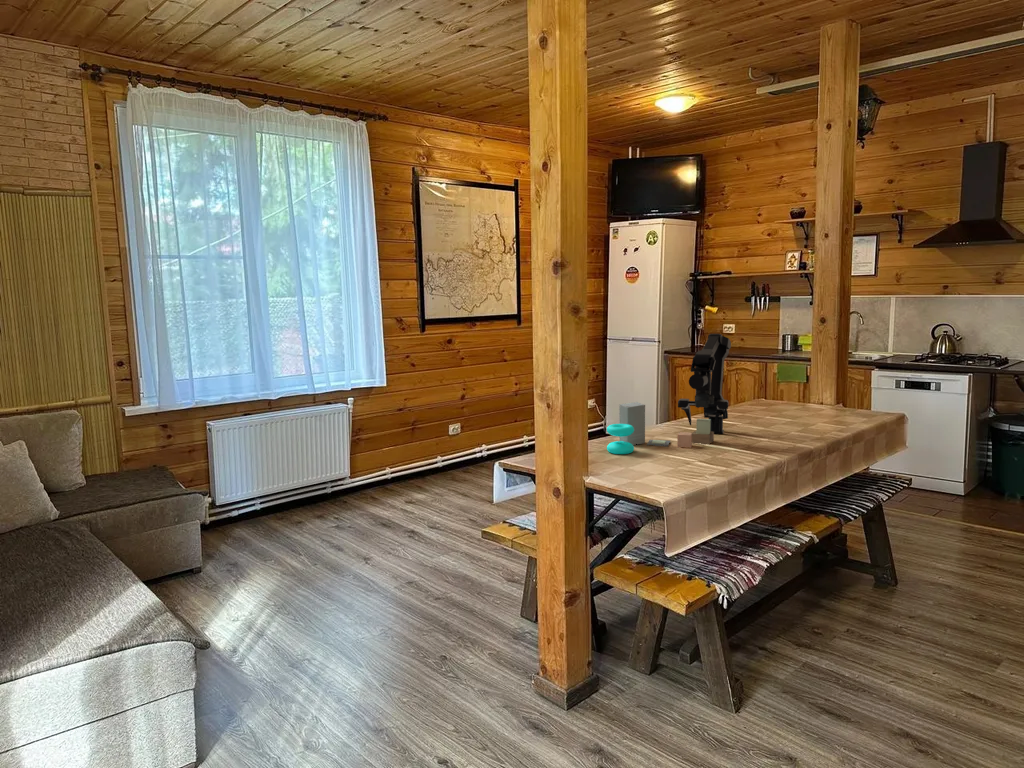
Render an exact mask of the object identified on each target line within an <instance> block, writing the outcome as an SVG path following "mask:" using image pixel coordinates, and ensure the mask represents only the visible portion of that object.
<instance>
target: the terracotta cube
mask: <svg viewBox="0 0 1024 768" xmlns="http://www.w3.org/2000/svg"><path fill="white" fill-rule="evenodd" d="M692 433H693V432H690V431H688V432H687V431H686V432H684V431H682V432H681V431H678V433H677V436H676V437H677V440H676V441H677V448H679V447H690V448H689V449H692V446H693V443H692Z"/></svg>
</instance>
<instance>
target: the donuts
mask: <svg viewBox="0 0 1024 768" xmlns="http://www.w3.org/2000/svg"><path fill="white" fill-rule="evenodd" d="M606 432H607V433H608V434H609V435H611V436H613V437H619V438H620V437H623V436H629V435H631V434H632V433H633V432H634V427H633V426H631V425H629V424H620V423H612V424H609V425H608V426H607V427H606ZM634 450H635V445H632V444H631V443H629V442H625V441H620V440H616V441H612V442H609V444H607V446H606V451H608V452H609V453H610V454H613V455H628V454H631V453H633V452H634Z"/></svg>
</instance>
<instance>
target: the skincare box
mask: <svg viewBox="0 0 1024 768" xmlns="http://www.w3.org/2000/svg"><path fill="white" fill-rule="evenodd" d="M618 406H619V409H618V410H619V413H618V414H619V418H618V419H619V424H629V425H631V426H633V427H634V432H633V433H632V434H631V435H629V436H623V437H619V441H625V442H629V443H631V444H632V445H633V446H635V445H636V444H637V445H642V444H645V443H646V404H645V403H641V402H638V401H635V402H629V403H622V404H619V405H618Z"/></svg>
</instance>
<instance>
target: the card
mask: <svg viewBox="0 0 1024 768" xmlns="http://www.w3.org/2000/svg"><path fill="white" fill-rule="evenodd" d="M669 443H671V440H668V439H667V440H664V439H663V440H662V439H649V440H648V442H647V443H646V446H648V445H653V446H652V447H669V446H670V444H669ZM654 445H655V446H654ZM668 445H669V446H668Z"/></svg>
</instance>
